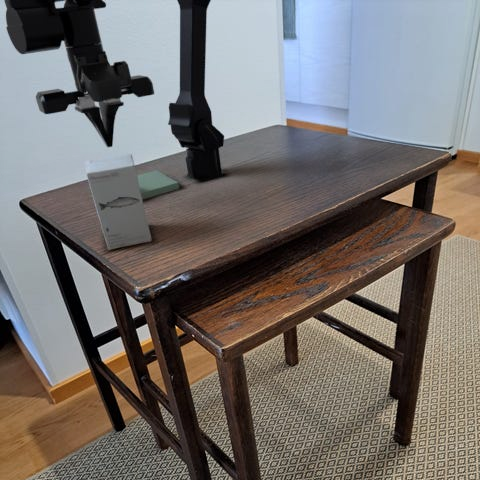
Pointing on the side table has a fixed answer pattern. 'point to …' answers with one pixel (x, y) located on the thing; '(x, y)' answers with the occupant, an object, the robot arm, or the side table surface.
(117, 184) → the white packaging box
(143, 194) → the scale
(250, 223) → the side table surface
